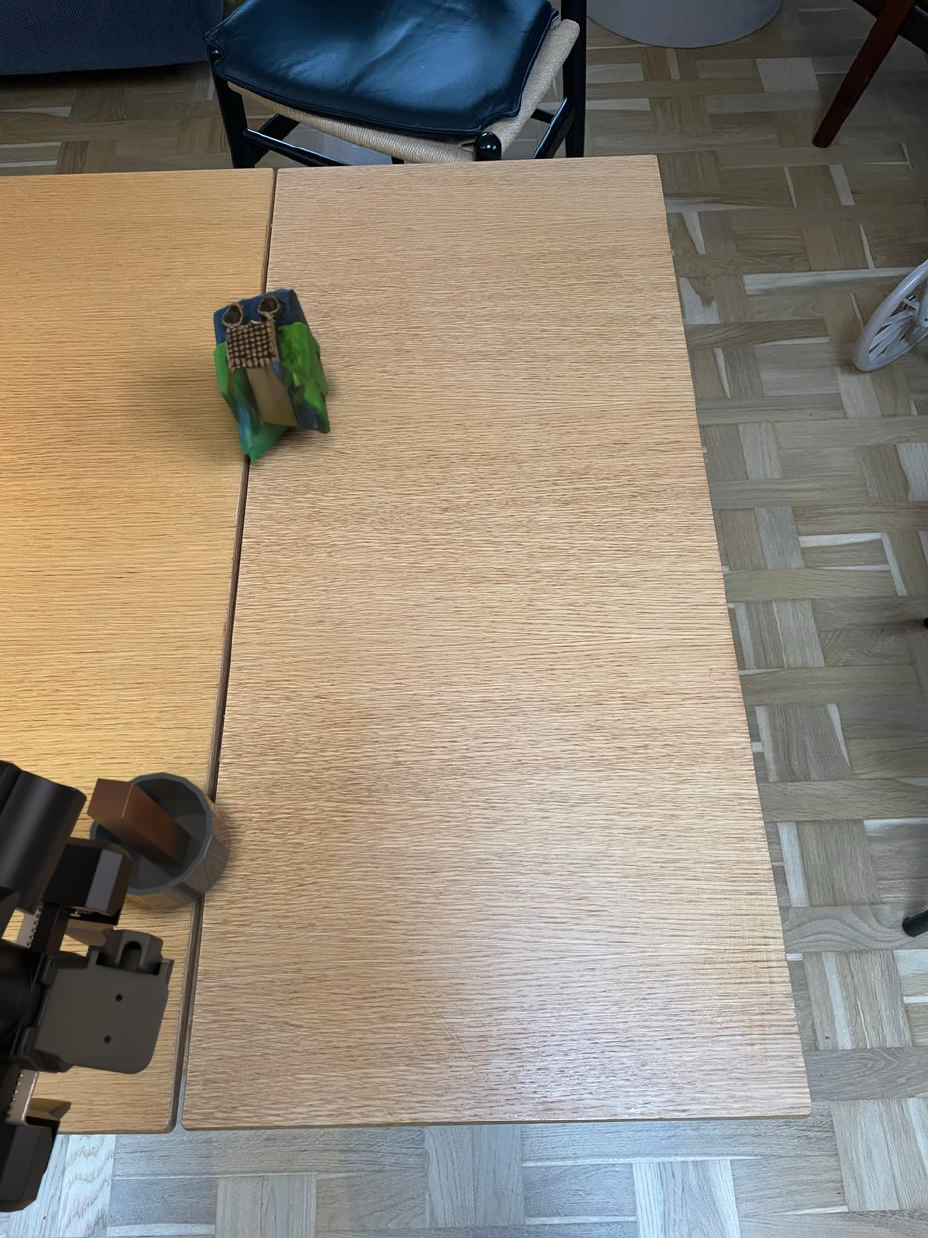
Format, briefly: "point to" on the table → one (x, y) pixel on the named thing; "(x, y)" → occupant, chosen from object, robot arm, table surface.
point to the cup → (202, 854)
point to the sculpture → (269, 369)
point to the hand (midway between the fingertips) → (87, 1023)
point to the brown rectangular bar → (138, 821)
